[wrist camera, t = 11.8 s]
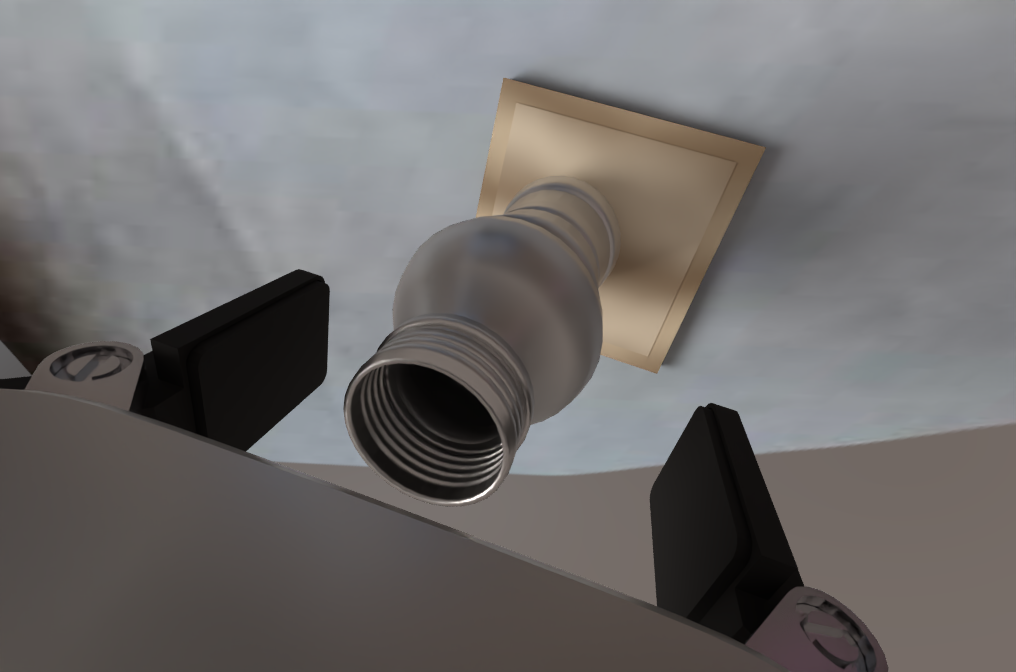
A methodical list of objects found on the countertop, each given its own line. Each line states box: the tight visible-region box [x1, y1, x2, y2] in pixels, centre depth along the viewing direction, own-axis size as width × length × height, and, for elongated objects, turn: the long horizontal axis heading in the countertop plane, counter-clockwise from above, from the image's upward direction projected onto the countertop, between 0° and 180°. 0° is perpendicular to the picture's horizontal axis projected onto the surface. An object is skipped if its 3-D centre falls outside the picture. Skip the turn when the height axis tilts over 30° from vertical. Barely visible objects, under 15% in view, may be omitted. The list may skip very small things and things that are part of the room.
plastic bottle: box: [344, 176, 621, 507], centre depth 17 cm, size 6×7×20 cm
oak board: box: [476, 78, 766, 374], centre depth 27 cm, size 14×14×1 cm
